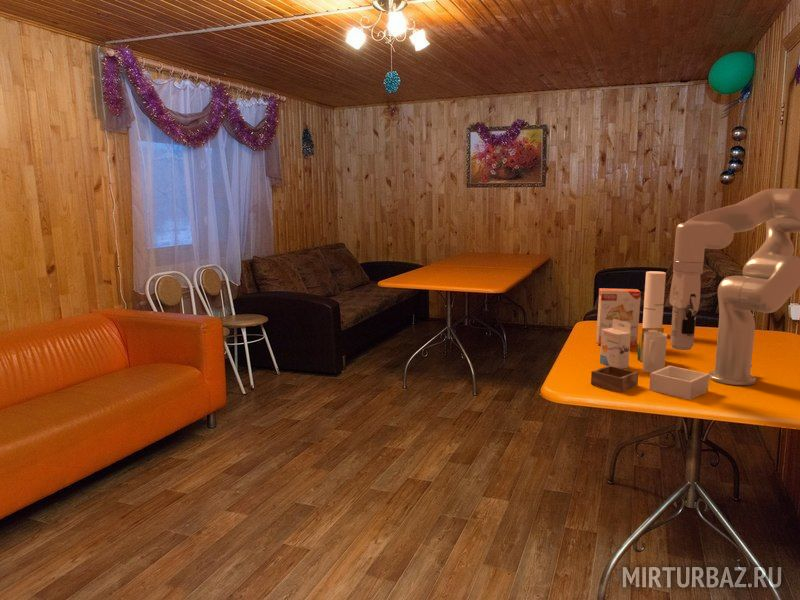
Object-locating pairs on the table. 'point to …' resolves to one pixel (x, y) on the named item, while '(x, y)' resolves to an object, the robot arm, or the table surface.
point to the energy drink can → (677, 337)
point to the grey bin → (679, 382)
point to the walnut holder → (614, 378)
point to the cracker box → (618, 310)
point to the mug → (654, 351)
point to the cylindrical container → (654, 300)
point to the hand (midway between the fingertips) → (682, 330)
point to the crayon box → (641, 341)
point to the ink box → (616, 344)
